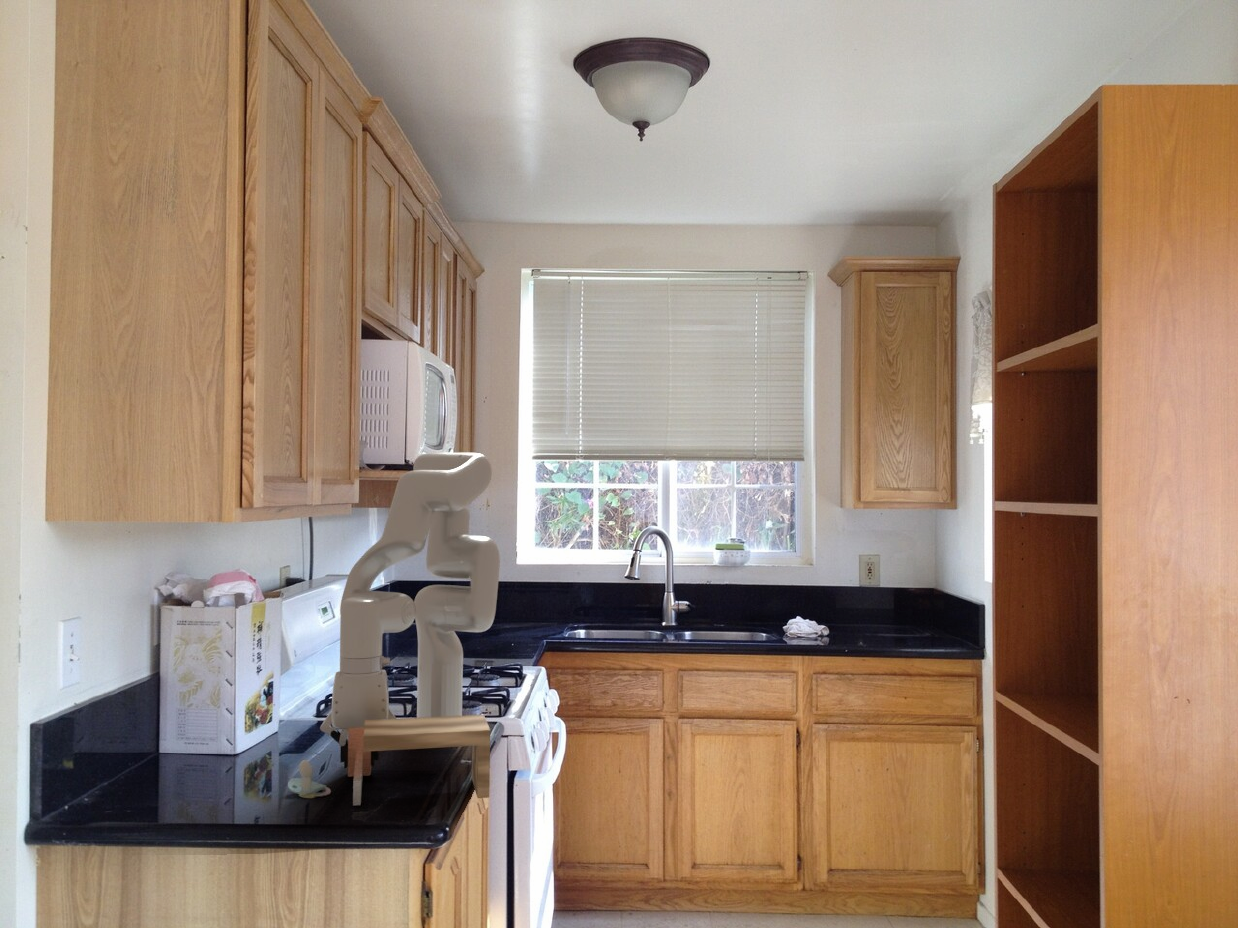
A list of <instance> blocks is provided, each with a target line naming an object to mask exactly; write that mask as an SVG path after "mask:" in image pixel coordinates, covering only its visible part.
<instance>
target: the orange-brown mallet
mask: <svg viewBox="0 0 1238 928" xmlns="http://www.w3.org/2000/svg"><path fill="white" fill-rule="evenodd" d="M347 739H348V767H347V777H349V778H351V777H353V781H352V783H353V784H352V785H353V786H352V789H353V790H352V791H353V792H352V806H361V803H362V789H363V777H364V776H365V777H366V776H371V772H372V766H371V751H366V752H363V750H364V727H359V728H348V735H347Z"/></svg>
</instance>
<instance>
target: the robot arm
mask: <svg viewBox="0 0 1238 928" xmlns="http://www.w3.org/2000/svg"><path fill="white" fill-rule="evenodd" d="M412 466H413V468H412V469H413V470H411V471H407V472H405V473H403V474H402V475H401V476H400V477H399V479H398V481H397V484H396V486H395V491H394V494H393V498H392V501H391V504H390V508H389V512H388V514H387V518H386V522H385V525H384V529H383V532H382V536H381V537H380V538H379V540H378V541H377V542H375V543H374V544H373V545H372V546H371V547H370V548H368V549H367V550H366V551H365V552H364V553H363V554H362V556H360V558H359V559H358V560H357V561H356V563H355V564H354V565H353V566H352V569H351V570H350V572H349V574H348V576H347V578H346V582H345V586H344V589H343V593H342V596H341V601H340V606H339V612H340V613H339V615H340V619H339V621H340V623H339V624H340V628H339V629H340V630H339V631H340V632H339V670H338V671H336V672H335V674H334V680H333V685H332V696H331V697H332V698H331V709H330V712H329V713H328V715H327V716H326V718H325V719H324V720H323V722H322V724H321V725H320V727H319V730H320V731H321V732H322V733H325V734H326V735H328V736H330V737H331V738H332V739H333V740H334V741H336V743H337V744H338V745H339V746H340V757H339V758H340V761H339V763H343V768H344V769H348V728H359V727H364V726H365V720H378V719H397V717H396V716H395V714H394V713H393V711H392V710H391V708H390V702H389V700H390V699H389V682H388V675H387V671H386V670H385V669H383V668H384V667H386V666H390V665H391V657H386V656H385V657H384V655H383V636H384V635H383V634H385V633H386V634H387V633H400V632H403V631H405V630H407V629H408V628H410V627H411V626H412V624H413V623H414V621H415V625H416V632H417V635H416V636H417V681H416V683H417V686H416V687H417V689H416V690H417V691H416V693H417V696H416V718H421V717H443V716H463V675H464V673H463V671H464V670H463V669H464V650H463V646H462V645H463V644H462V643H461V640H460V638H459V637H458V635H457V634H456V632H463V633H464V632H467V633H483V632H486V631H488V630H489V629H490V628H491V627H492V625H493V623H494V620H495V616H496V611H497V600H498V591H499V590H498V589H499V581H500V580H499V578H500V567H501V565H500V563H501V561H500V560H501V559H500V558H501V557H500V551H499V548H498V545H497V543H496V542H495V540H493V538H491V537H489V536H485V535H470V518H471V517H470V516H471V515H470V509H469V505H470V504H471V503H472V502H473V501H475V499H477V498H478V497H480V496H481V495H482V494H483V493H484V492H485V490H486V489H487V488H488V487H489V486H490V482H491V480H492V474H493V471H492V470H493V469H492V463H491V462H490V460H489V459H488V457H487V456H486V455H484V454H483V453H479V452H478V453H477V452H449V451H448V452H429V453H423V454H421V455H419V456H417V458H415V460H414V462H413V465H412ZM427 539H428V540H427ZM426 542H427V549H426V560H425V561H426V562H425V563H426V564H425V565H426V570H427V572H428V573H429V574H430V575H431V576H432V577H435V578H439V579H445V580H463V581H464V580H466V581H470V586H465V585H463V586H462V585H454V584H453V585H451V584H447V585H446V584H432V585H428V586H425V587H423V588H422V589H420V590H419V591H418V592H417V594H416V596H415V598H414V600H413V599H412V598H411V596H409V595H407V594H405V593H401V592H395V591H380V590H371V588H372V585H373V584H374V582H375V580H376V579H377V578H378V577H379V576H380V574H382V573H384V571H385V570H388V568H390V567H392V566H394V565H396V564H398V563H400V562H402V561H405V560H407V559H410V558H412V557H414V556H417V555H418V554H420V553H421V552H422V551H423V550H424V549H425V546H426ZM331 725H332V726H331ZM339 730H340V731H339ZM379 752H380V751H371V767H375V761H379Z"/></svg>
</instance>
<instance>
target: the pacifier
mask: <svg viewBox="0 0 1238 928" xmlns="http://www.w3.org/2000/svg"><path fill="white" fill-rule="evenodd" d="M298 771H299V774H300V775H301V776H300V777H294V778H291V779H290V780H289V781H288V783H287V789H288V790H289V791H290V792H292V793H295V794H298V796H299V797H301V798H303V799H304V798H305V799H314V798H316V797H325V796H328V795H330V794H331V792H332V791H331V789H330V788H329V787H327V785H325V784H323V783H322V784H321V783H318V782H315V781H312V779H313V777H314V769H313V766H312V764H311V763H310V762H309V761H308V760H306V759H303V760H302V761H300V763H299V765H298ZM319 791H321V792H319Z"/></svg>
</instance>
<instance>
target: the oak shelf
mask: <svg viewBox="0 0 1238 928" xmlns="http://www.w3.org/2000/svg"><path fill="white" fill-rule="evenodd" d="M456 747H471V781H472V784H473V787H474V791H475V794H476V798H477V799H488V798H490V781H491V780H490V778H491V777H490V776H491V775H490V774H491V773H490V772H491V770H490V769H491V767H490V766H491V728H490V726H489V723H488V722H487V719H486V717H485V714H469V715H467V714H466V715H462V716H443V717H421V718H417V717H405V718H402V717H401V718H396V719H378V720H365V726H364V750H363V752H366V751H379V752H383V751H401V750H402V751H403V750H417V749H419V750H420V749H435V748H437V749H438V748H456Z"/></svg>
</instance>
